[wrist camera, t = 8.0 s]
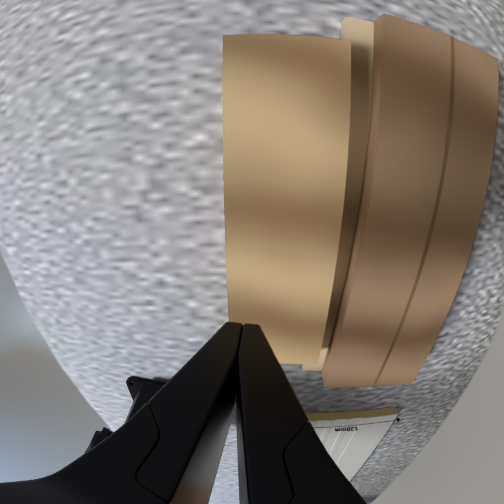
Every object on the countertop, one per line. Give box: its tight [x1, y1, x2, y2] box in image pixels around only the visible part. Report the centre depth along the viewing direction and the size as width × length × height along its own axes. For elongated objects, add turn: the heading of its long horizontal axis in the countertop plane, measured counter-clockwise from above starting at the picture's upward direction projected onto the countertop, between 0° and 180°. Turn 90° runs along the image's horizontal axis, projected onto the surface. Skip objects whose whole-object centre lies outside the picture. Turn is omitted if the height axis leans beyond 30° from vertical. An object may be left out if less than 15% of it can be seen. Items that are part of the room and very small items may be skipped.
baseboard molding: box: [306, 407, 400, 481], centre depth 30 cm, size 31×3×12 cm
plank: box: [223, 34, 351, 364], centre depth 15 cm, size 18×6×3 cm, turn 0°
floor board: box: [302, 14, 499, 388], centre depth 15 cm, size 22×8×3 cm, turn 178°
